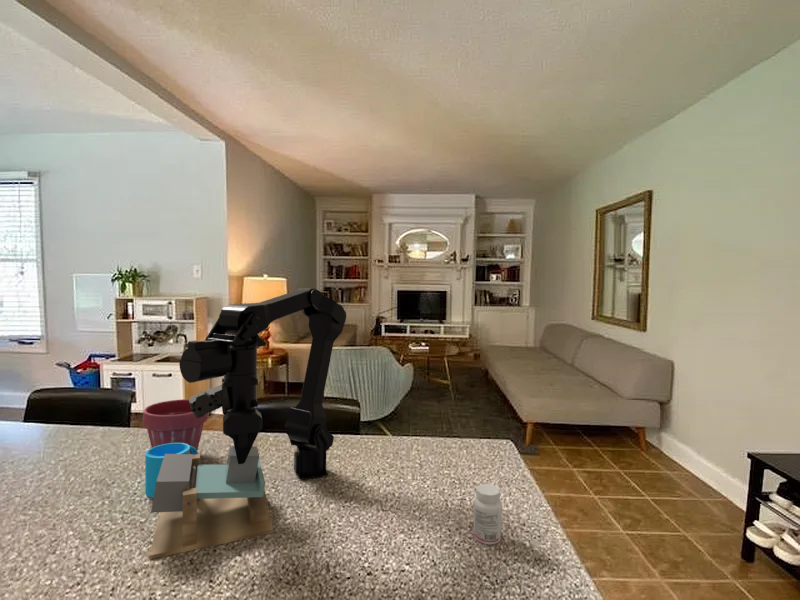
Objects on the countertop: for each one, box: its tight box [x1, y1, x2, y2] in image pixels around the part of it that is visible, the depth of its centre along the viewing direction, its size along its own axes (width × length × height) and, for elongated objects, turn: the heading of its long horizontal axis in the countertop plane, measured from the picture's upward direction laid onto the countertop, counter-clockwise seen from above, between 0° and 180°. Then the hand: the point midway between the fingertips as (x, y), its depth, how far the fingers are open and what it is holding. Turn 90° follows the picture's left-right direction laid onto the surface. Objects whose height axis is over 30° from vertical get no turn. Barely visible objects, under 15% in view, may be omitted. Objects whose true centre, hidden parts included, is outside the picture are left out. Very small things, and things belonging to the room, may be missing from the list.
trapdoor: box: [150, 454, 266, 514], centre depth 76 cm, size 17×12×5 cm
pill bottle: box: [473, 483, 503, 546], centre depth 72 cm, size 5×5×8 cm
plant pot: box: [142, 398, 209, 454], centre depth 102 cm, size 14×14×13 cm
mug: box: [144, 443, 199, 499], centre depth 89 cm, size 12×8×8 cm
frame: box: [149, 453, 274, 560], centre depth 77 cm, size 18×18×9 cm
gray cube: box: [225, 445, 260, 483], centre depth 78 cm, size 5×5×5 cm
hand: (240, 454), depth 78 cm, fingers open, 8 cm apart
